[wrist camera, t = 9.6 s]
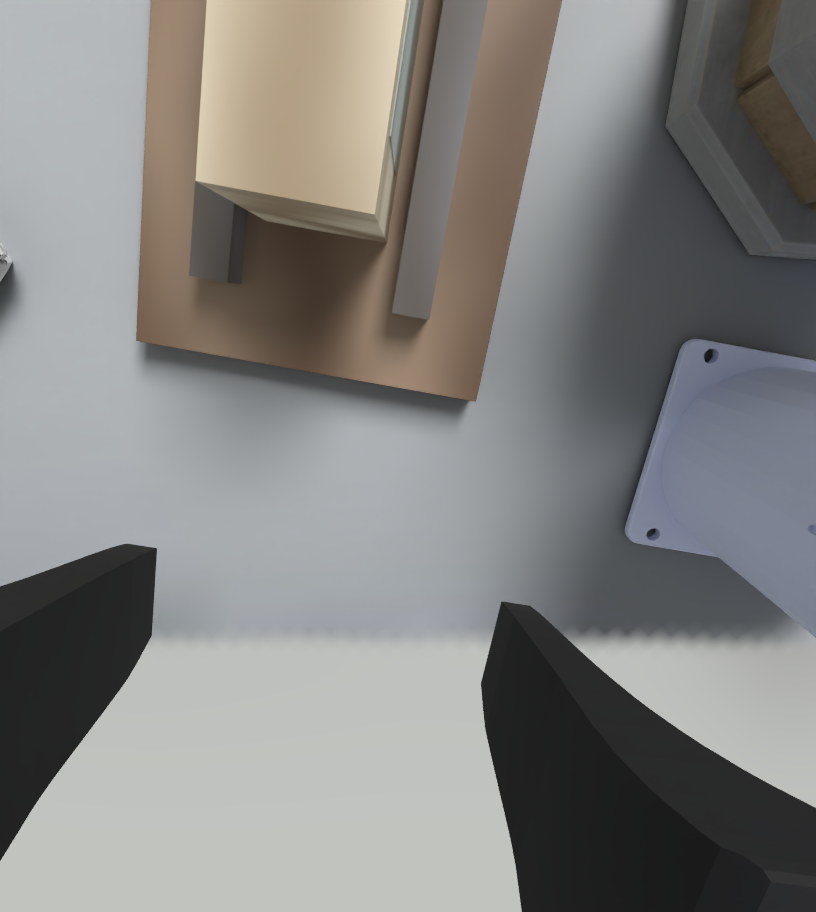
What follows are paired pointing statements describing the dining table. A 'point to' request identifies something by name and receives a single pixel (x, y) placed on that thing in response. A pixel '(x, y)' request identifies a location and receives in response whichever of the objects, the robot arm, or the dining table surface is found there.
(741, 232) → the tankard
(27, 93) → the dining table surface
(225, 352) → the walnut ledge
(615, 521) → the dining table surface
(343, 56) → the pale wooden bar
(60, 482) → the dining table surface
